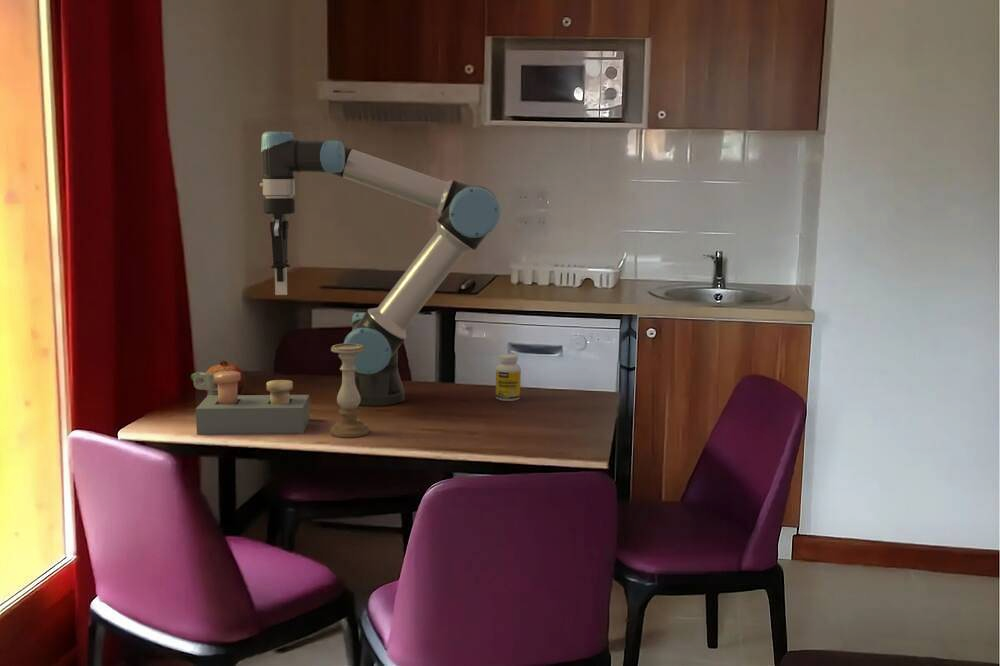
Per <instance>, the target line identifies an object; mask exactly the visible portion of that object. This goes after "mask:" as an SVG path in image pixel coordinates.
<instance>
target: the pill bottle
mask: <svg viewBox="0 0 1000 666" xmlns="http://www.w3.org/2000/svg"><path fill="white" fill-rule="evenodd" d="M499 361H500V363H499V364H498V365H496V367H495V368H496V369H495V398H496V400H499V401H504V402H513V401H514V402H515V401H518V400H519V399H520V398H521V373H522V372H521V367H520V365H519V364H518V363H517V362H518V354H517V355H516V354H511V353H504V354H500V355H499Z"/></svg>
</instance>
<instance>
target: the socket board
mask: <svg viewBox="0 0 1000 666" xmlns="http://www.w3.org/2000/svg"><path fill="white" fill-rule="evenodd" d="M310 415H311V414H310V394H290V404H271V402H270V394H254V395H253V394H252V395H251V394H250V395H249V394H246V395H245V394H238V404H218V395H208V396H207V395H206V397H205V398H203V400H202V401H201V402H200V404H199V405H198V406H197V407H196V408H195V421H196V425H195V426H196V435H255V434H258V435H260V434H261V435H262V434H267V435H268V434H269V435H270V434H271V435H273V434H277V435H278V434H282V435H283V434H304V433H305V430H306V428H307V427H308V424H309V421H310V418H311V417H310Z"/></svg>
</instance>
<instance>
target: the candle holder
mask: <svg viewBox="0 0 1000 666" xmlns="http://www.w3.org/2000/svg"><path fill="white" fill-rule="evenodd" d="M364 350H365V347H364V346H363V345H361V344H343V343H339V344H338V343H337V344H333V345H332V346H331V348H330V351H331V352H332V353H335V354H338V358H339V359H340V360H341V366H340V368H339V370H340V371H341V374H342V375H341V377H342V378H341V386H340V388H339V391H338V394H337V395H336V402H337V403H336V404H337V405H338V407H340V409H339V410H338V414H339V415H340V417H341V420H340V421H337V422H335V423H334V424H333V426H331V427H330V429H329V434H330V435H331V436H334V437H338V438H357V437H363V436H365V435H367V434H368V433H369V427H368V426H367V425H365V424H364V423H365V422H363V421H361V420H358V419H357V418H358V416H359V413H360V410H359V408H358V406H360V405H359V404H360V401H361V397H360V394H359V392H358V390H357V387H356V384H355V376H354V373H355V370H356V369H357V368H356V366H355V365H354V360H355V359H356V358H357V353H359V352H363V351H364Z"/></svg>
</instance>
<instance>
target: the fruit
mask: <svg viewBox="0 0 1000 666" xmlns="http://www.w3.org/2000/svg"><path fill="white" fill-rule="evenodd" d="M222 371H237V372H240V377H241V380H240V381H237V393H238V395H240V393H241V392H242V391H243V389H244V387H245V381H246V380H245V379H246V378H245V376H244V373H243V371H242V370H241V368H240V367H239V366H237V365H236V364H234V363H233V364H232V363H228V360H226V359H224V360H221V361H219V363H218V364H216V365H213V366H211V367H209V368H208V369H207V370H206V372H209V373H217V372H222ZM206 392H207V393H208V391H207V390H206ZM217 394H218V390H217Z"/></svg>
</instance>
